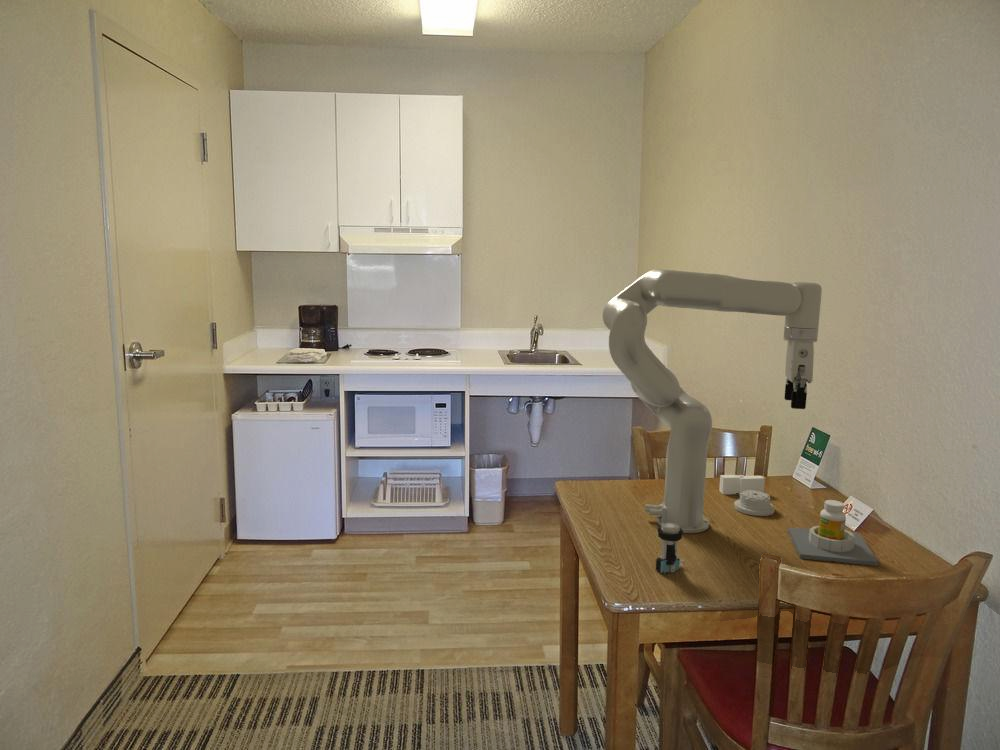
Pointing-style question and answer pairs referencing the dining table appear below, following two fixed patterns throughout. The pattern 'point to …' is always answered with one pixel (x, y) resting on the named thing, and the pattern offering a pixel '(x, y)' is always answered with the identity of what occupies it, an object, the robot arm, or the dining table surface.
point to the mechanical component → (754, 503)
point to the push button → (669, 547)
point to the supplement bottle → (832, 520)
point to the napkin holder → (740, 483)
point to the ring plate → (832, 547)
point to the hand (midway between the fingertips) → (794, 404)
